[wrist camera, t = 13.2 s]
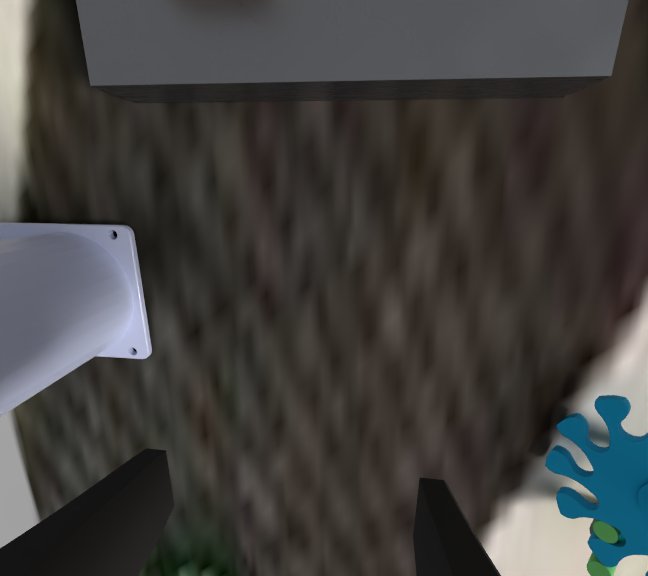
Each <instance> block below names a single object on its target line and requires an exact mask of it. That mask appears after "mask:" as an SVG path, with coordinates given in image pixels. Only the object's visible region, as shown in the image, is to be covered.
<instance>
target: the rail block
mask: <svg viewBox="0 0 648 576" xmlns="http://www.w3.org/2000/svg"><path fill="white" fill-rule="evenodd" d="M76 4H77V10H78V15H79V21H80V27H81V33H82V39H83V45H84V51H85V57H86V63H87V69H88V75H89V81H90V86H93V87H95V88H98V89H100V90H103V91H106V92H108V93H111V94H114V95H116V96H119V97H122V98H124V99H127V100H130V101H132V102H135V103H181V102H255V101H329V100H403V99H477V98H552V97H565V96H567V95H569V94H571V93H574V92H576V91H578V90H580V89H583V88H585V87H587V86H589V85H592V84H594V83H596V82H599V81H601V80H603V79H605V78H608V77H610V76H611V75H612V70H613V66H614V61H615V57H616V53H617V48H618V44H619V39H620V35H621V30H622V26H623V21H624V17H625V13H626V8H627V4H628V0H76Z"/></svg>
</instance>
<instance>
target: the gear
mask: <svg viewBox="0 0 648 576" xmlns="http://www.w3.org/2000/svg"><path fill="white" fill-rule="evenodd" d="M595 408H596V410H597V412H598V413H599V414H600V416H601V417H602V418H603V420H604V421H605V423H606V425H607V427H608V430H609V434H610V446H609V447H600V446H597V445H595V444H594V443H593V442H592V441H591V440H590V438H589V424H588V422H587V420H586V419H585V418H584V417H583V416H582V415H581V414H579V413H576V414H572V415H569V416H567V417H566V418H564V419H563V420H562V421H560V422H559V423H558V424H557V428H558V430H559V432H560V433H561V434H562V435H563V436H565V437H566V438H568V439H570V440H571V441H573V442H574V443H575V444H576V445H577V446H579V447H580V448H581V450H582V451H583V452H584V453H585V455H586V456H587V458H588V459H589V461H590V463H591V465H592V467H593V470H594V471H585V470H583V469H581V468H580V467H579V466H578V465H577V464H576V462H575V460H574V459H573V457H572V455H571V453H570V452H569V451H568V450H567V449H565V448H564V447H562V446H558V445H557V446H555V447H554V448H553V449H552V451H551V452H550V453H549V454H548V456H547V459H546V463H545V466H546V467H547V468H548V469H549V470H550V471H552V472H554V473H556V474H560V475H564V476H567V477H570V478H572V479H574V480H576V481H577V482H579V483H580V484H582V485H583V486H584V487H586V488H587V489H588V490H589V491H590V492H591V493H592V494H594V495H595V496H596V498H597V499H598V501H599V503H598V504H595V503H591V502H589V501H587V500H586V499H584V498H583V497H582V496H581V495H580V494H579V493H578V492H576V491H575V490H573V489H571V488H569V487H561V488H560V490H559V491H558V493H557V497H556V498H557V504H558V507H559V510H560V513H561V514H562V515H563V516H565V517H567V518H571V519H575V518H579V517H588V518H594V520H593V522H592V524H591V526H590V534H591V536H590V538H589V540H588V545H589V547H590V548H591V550H592V554H591V557H590V559H589V561H588V564H587V570H588V572H589V574H590V575H591V576H613V575H614V572H615V569H616V566H617V564H618V563H619V561H620V560H621V559H623V558H624V557H626V556H630V555H648V433H647V434H646V435H644V436H641V437H637V436H632V435H630V434H628V433H627V432H625V431H624V430H623V428H622V426H621V421H622V420H624V419H625V418H626V416H627V415H628V413H629V412H630V409H631V406H630V403H629V401H628V399H627V398H625V397H621V396H615V395H606V396H599V397H598V398H597V399H596V401H595ZM645 576H648V571H647V573H646V575H645Z"/></svg>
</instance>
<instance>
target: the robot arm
mask: <svg viewBox="0 0 648 576" xmlns="http://www.w3.org/2000/svg"><path fill="white" fill-rule="evenodd" d="M113 231H115V232H116V233H117V238H116V237H115V236H114V234H113ZM133 348H135V349H136V351H137V352H135V351H134V350H133ZM151 353H152V347H151V341H150V334H149V328H148V321H147V314H146V308H145V301H144V295H143V288H142V282H141V275H140V269H139V262H138V256H137V249H136V243H135V236H134V232H133V230H132V229H131V228H130V227H129V226H126V225H102V224H56V223H11V222H0V417H1V416H2V415H4V414H5V413H7V412H9V411H10V410H12V409H13V408H15V407H16V406H18V405H19V404H21V403H23V402H24V401H26V400H27V399H29V398H30V397H32V396H34V395H35V394H37V393H38V392H40V391H41V390H43V389H44V388H46V387H48V386H49V385H51V384H52V383H54V382H55V381H57V380H59V379H60V378H62V377H63V376H65V375H66V374H68V373H69V372H71V371H73V370H74V369H76V368H77V367H79V366H80V365H82V364H83V363H85V362H87V361H88V360H90V359H91V358H93V357H94V356H102V357H118V358H135V359H145V358H147V357H148V356H149V355H151ZM173 507H174V501H173V494H172V488H171V481H170V475H169V468H168V462H167V455H166V451H165V450H155V449H145V450H143V451H142V452H140V453H139V454H137V455H136V456H135V457H133V458H132V459H130V460H129V461H127V462H126V463H125V464H123V465H122V466H120V467H119V468H118V469H116V470H115V471H113V472H112V473H111V474H109V475H108V476H106V477H105V478H104V479H102V480H101V481H99V482H98V483H97V484H95V485H94V486H92V487H91V488H89V489H88V490H87V491H85V492H84V493H82V494H81V495H79V496H78V497H77V498H75V499H74V500H72V501H71V502H70V503H68V504H67V505H65V506H64V507H62V508H61V509H59V510H58V511H57V512H55V513H53V514H52V515H50V516H49V517H47V518H46V519H44V520H43V521H41V522H40V523H38V524H37V525H35V526H34V527H32V528H31V529H29V530H28V531H26V532H25V533H23V534H22V535H20V536H19V537H17V538H16V539H14V540H13V541H11V542H10V543H8V544H7V545H5V546H3V547H2V548H0V576H138V575H139V573H140V571H141V570H142V568H143V566H144V564H145V563H146V561H147V559H148V558H149V556H150V554H151V552H152V551H153V549H154V547H155V545H156V543H157V541H158V539H159V537H160V535H161V533H162V531H163V529H164V527H165V525H166V522H167V520H168V518H169V516H170V513H171V511H172V509H173ZM413 539H414V550H415V562H416V572H417V576H501V575H500V573H499V572H498V570H497V569H496V567H495V565H494V564H493V562H492V561H491V559H490V558H489V556H488V554H487V553H486V551H485V550H484V548H483V546H482V545H481V543H480V542H479V540H478V538H477V537H476V535H475V533H474V531H473V530H472V528H471V526H470V525H469V523H468V521H467V520H466V518H465V516H464V514H463V512H462V511H461V509H460V507H459V505H458V503H457V502H456V500H455V498H454V496H453V494H452V492H451V490H450V488H449V487H448V485H447V483H446V482H445V481H444V480H437V479H428V478H420V481H419V490H418V498H417V507H416V516H415V524H414V533H413Z"/></svg>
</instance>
